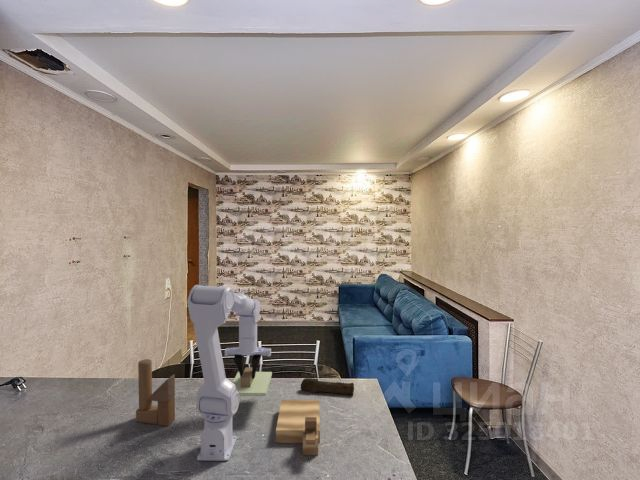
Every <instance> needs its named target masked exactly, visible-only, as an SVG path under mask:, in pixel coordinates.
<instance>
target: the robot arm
mask: <svg viewBox="0 0 640 480" xmlns="http://www.w3.org/2000/svg"><path fill="white" fill-rule="evenodd" d="M186 302H187V307H188V308H187V309H188V313H189V319H190V322H191V323H193V330H194V336H195V340H196V346H197V351H198V356H199V361H200V366H201V371H202V372H201V373H202V376H203V377H202V378H203V382H202V383H201V384H200V385H199V387H198V388H197V391H196V410H197V411H198V413H200V414H201V418H203V430H202V432H201V435H200V450H199V453H198V455H197V458H196V461H210V462H211V461H213V462H214V461H219V462H220V461H228V460H229V459H230V458H231V454H232V452H233V448H234V447H235V443H236V441H237V439H238V438H237V435H233V417H234V416H235V414H236V413H237V411H238V409H239V405H240V401H241V399H240V397H241V396H239V393H238V391H237V390H236V386H235V384H234V383H232V382H233V381H230V380H229V379H228V378H227V377H226V371H225V365H224V360H223V354H222V348H221V343H220V336H219V329H218V328H219V327H221V326H222V325H224V324H226V322H227V319H228V317H229V315H230V313H231V311H232V312H234V313H235V314H236V317H238V346H237V347H235V346H234V347H227V348H225V349H224V357H228V356H234V357H233V362H234V364H235V365H236V367H237V371H238V372H239V373H240V377H241V376H242V374H243V372H244V370H245V356H250V357H251V356H252V358H251V367H252V379H254V378H255V374H256V372H257V368H258V365H259V363H260V360H261V358H262V356H265V357H271V356H272V348H269V347H268V348H267V347H259V346H258V322H259V319H260V311H261V302H260V301H259V300H257V299H256V298H250V296H249V295H246V294H245V291H237V292H235V290H234V287H231V286H213V285H201V284H194V286H193V287H191V290H190V291H189V294H188V298H187V301H186ZM229 461H230V460H229Z"/></svg>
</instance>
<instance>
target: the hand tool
mask: <svg viewBox="0 0 640 480" xmlns="http://www.w3.org/2000/svg"><path fill="white" fill-rule="evenodd" d="M300 390H301V391H303V392H308V393H314V394H317V392H320V393H321V392H322V393H331V394H332V393H334V394H344V395H351V396H352V397H354V392H355V384H354V382H350V383H347V382H341V381H340V382H337V381H336V382H332V381H322V380H319V379H318V378H312V377H305V378H304V379H303V380H302V381H301V383H300Z"/></svg>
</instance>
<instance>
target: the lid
mask: <svg viewBox="0 0 640 480" xmlns="http://www.w3.org/2000/svg"><path fill="white" fill-rule="evenodd" d="M272 375H273V372H272V371H256V374H255V378H254V379H252V366H249V367H248V366H246V367H244V372H243V374H242V376H241V377H240V373H239V371H237V372H236V375H235V377H234V378H233V380H232V381H231V382H232V383H234V384H235V386H236V390H237V391H238V393H239V396H240V397H267V393H268V390H269V387H270V383H271V379H272Z"/></svg>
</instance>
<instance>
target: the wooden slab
mask: <svg viewBox="0 0 640 480" xmlns="http://www.w3.org/2000/svg"><path fill="white" fill-rule="evenodd" d="M280 401H281V402H280V405H279V412H278V417H277V422H276V428H275V443H278V444H279V443H280V444H282V443H284V444H285V443H286V444H288V443H291V444H294V443H295V444H296V443H297V444H302V456H319V444H320V443H321V426H320V423H321V421H320V400H319V399H315V400H314V399H281V400H280ZM305 417H317V430H316V435H315V445H306V435H305Z"/></svg>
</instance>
